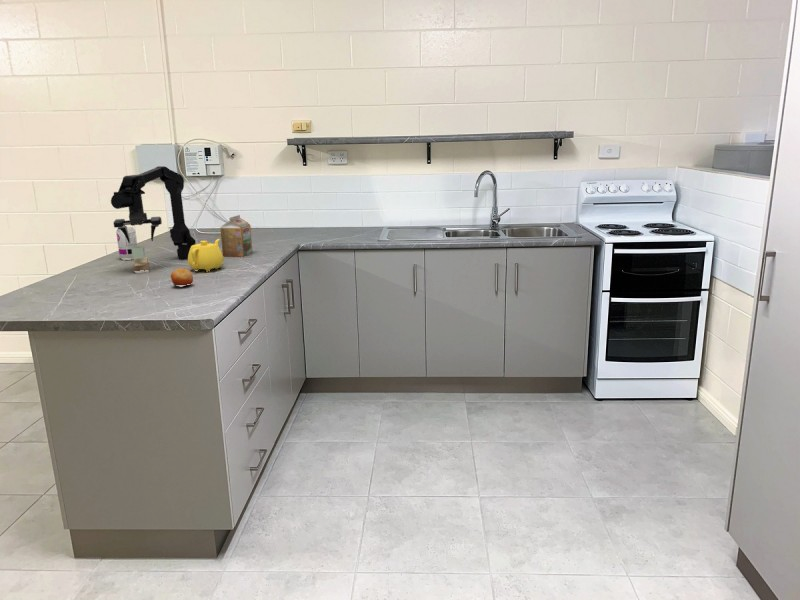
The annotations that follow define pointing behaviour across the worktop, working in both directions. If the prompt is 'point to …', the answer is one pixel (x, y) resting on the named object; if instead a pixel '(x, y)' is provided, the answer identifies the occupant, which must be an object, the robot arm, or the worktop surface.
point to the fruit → (181, 277)
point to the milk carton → (236, 238)
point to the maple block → (141, 261)
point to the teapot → (205, 256)
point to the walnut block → (141, 267)
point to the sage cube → (138, 252)
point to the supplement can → (126, 242)
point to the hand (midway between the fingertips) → (140, 241)
